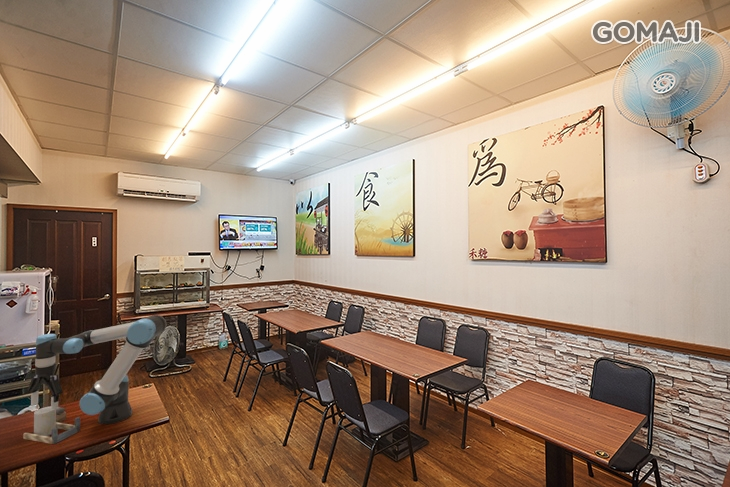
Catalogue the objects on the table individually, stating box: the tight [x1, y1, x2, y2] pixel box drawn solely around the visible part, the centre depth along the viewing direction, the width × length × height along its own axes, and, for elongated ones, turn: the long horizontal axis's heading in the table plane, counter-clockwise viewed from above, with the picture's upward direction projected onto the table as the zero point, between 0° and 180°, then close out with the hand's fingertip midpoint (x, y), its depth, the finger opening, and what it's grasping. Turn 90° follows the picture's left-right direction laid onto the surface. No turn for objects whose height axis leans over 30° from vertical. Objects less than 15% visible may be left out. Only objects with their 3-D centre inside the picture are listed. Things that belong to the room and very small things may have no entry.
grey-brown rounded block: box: [56, 406, 67, 423], centre depth 183 cm, size 7×4×7 cm, turn 77°
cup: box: [33, 405, 56, 437], centre depth 170 cm, size 8×8×12 cm
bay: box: [22, 416, 81, 445], centre depth 169 cm, size 20×12×7 cm, turn 77°
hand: (44, 406), depth 170 cm, fingers open, 13 cm apart
